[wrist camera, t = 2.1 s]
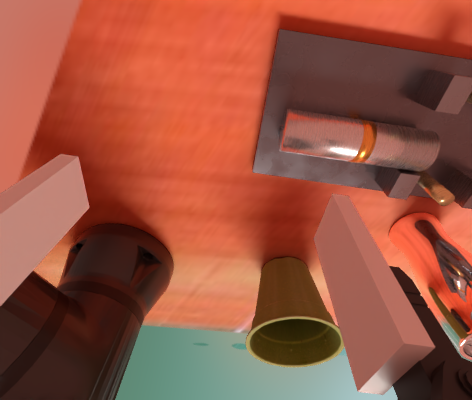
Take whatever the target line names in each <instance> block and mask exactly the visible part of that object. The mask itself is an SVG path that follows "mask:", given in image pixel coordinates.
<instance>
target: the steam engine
mask: <svg viewBox="0 0 472 400" xmlns="http://www.w3.org/2000/svg"><path fill="white" fill-rule="evenodd" d="M286 109H293V110H300V111H306V112H313V113H319V114H326V115H332V116H339V117H346V118H352V119H361V120H367V121H373V122H378V123H385V124H391V125H398V126H405V127H411V128H418V129H424V130H431V131H434V132H436V133H437V134H438V136H439V138H440V150H439V153H438V156H437V158H436V160H435V161H434V163H433V164H432V165H431V166H430V167H429V168H427V169H426V170H424V171H420V172H418V171H411V170H404V169H398V168H391V167H384V166H377V165H371V164H364V163H355V162H348V161H344V160H337V159H330V158H323V157H316V156H310V155H303V154H296V153H289V152H283V151H279V148H278V143H279V134H280V128H281V124H282V120H283V116H284V113H285V111H286ZM253 173H260V174H267V175H274V176H281V177H288V178H295V179H302V180H309V181H316V182H323V183H330V184H337V185H344V186H351V187H358V188H365V189H372V190H379V191H384V193H385V194H386V195H387V196H388V197H392V198H399V199H406V200H407V198H408V197H409V195H414V196H421V197H428V198H433V199H434V200H435V201H436V202H438V203H439V204H440V205H442V206H446V205H449V204H451V203H452V202H453V201H455V202H456V203H458V204H459V205H460V206H461V207H462V208H469V209H472V60H470V59H464V58H458V57H451V56H445V55H439V54H433V53H426V52H420V51H414V50H408V49H401V48H395V47H389V46H382V45H376V44H370V43H364V42H357V41H351V40H345V39H339V38H332V37H326V36H320V35H314V34H307V33H301V32H295V31H289V30H282V29H279V30H278V36H277V41H276V46H275V52H274V57H273V62H272V68H271V73H270V78H269V84H268V89H267V94H266V100H265V105H264V110H263V116H262V121H261V126H260V132H259V137H258V142H257V148H256V153H255V158H254V164H253Z"/></svg>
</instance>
